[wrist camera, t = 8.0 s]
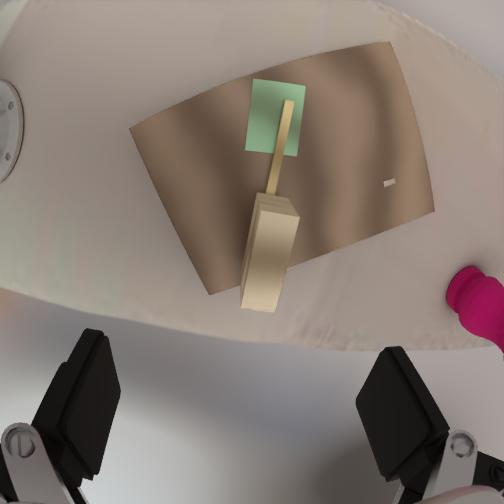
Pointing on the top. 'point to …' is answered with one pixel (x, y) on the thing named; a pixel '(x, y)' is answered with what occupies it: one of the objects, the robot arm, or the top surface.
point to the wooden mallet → (269, 235)
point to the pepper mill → (479, 304)
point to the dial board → (290, 158)
